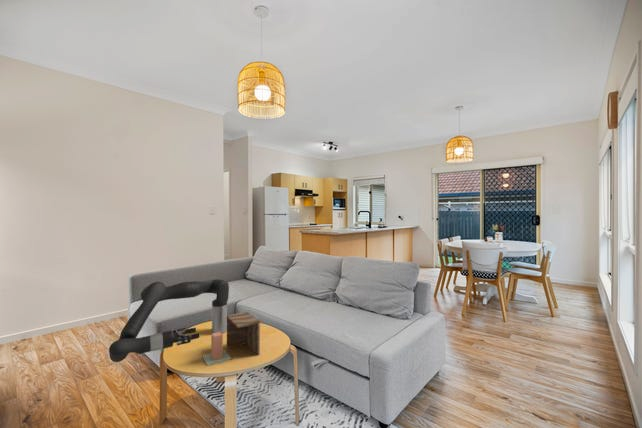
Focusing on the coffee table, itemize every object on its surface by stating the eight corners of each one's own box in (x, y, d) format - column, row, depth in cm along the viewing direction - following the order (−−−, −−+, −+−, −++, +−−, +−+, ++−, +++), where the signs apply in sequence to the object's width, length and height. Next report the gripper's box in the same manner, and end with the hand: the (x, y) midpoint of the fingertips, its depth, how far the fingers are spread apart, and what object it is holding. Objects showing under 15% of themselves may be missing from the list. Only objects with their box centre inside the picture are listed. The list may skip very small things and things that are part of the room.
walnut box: (226, 347, 165) (226, 315, 166) (247, 342, 172) (247, 311, 172) (237, 361, 150) (237, 326, 150) (259, 354, 156) (259, 321, 157)
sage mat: (202, 356, 154) (202, 355, 154) (225, 350, 161) (225, 349, 161) (207, 365, 145) (207, 364, 145) (231, 358, 152) (231, 357, 152)
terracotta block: (211, 356, 153) (211, 333, 153) (220, 354, 156) (220, 331, 156) (213, 360, 149) (213, 336, 150) (222, 357, 152) (222, 334, 152)
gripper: (162, 338, 132) (200, 329, 141) (159, 328, 144) (194, 320, 153) (163, 354, 132) (200, 345, 142) (159, 343, 144) (194, 334, 153)
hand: (197, 332), depth 147 cm, fingers open, 8 cm apart
